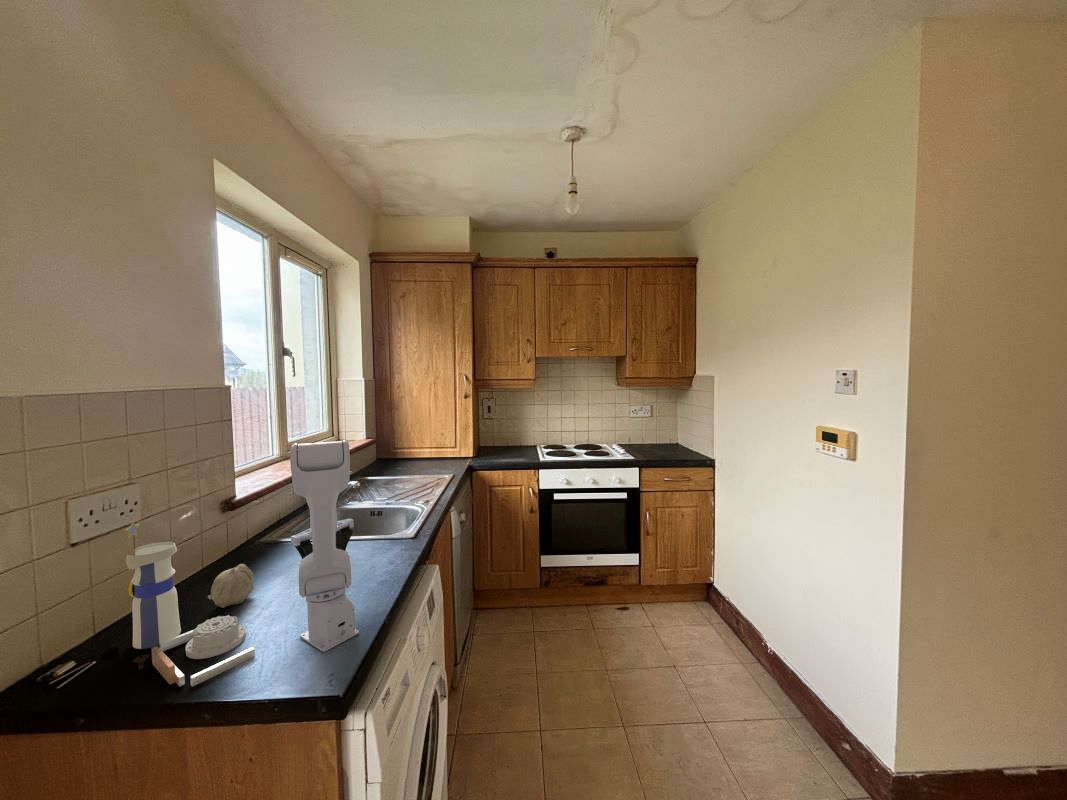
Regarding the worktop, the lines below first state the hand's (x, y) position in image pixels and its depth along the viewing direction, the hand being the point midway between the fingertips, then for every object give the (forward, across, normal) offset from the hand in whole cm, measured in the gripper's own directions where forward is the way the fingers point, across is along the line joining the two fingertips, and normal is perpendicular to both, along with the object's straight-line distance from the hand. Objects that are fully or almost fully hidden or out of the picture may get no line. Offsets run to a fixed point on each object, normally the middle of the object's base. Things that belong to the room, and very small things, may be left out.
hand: (325, 565), depth 103 cm
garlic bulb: (+10, +12, -20) cm, 25 cm away
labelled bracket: (+9, +25, -2) cm, 27 cm away
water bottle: (+10, +28, -17) cm, 34 cm away
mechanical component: (+10, +21, -4) cm, 24 cm away
